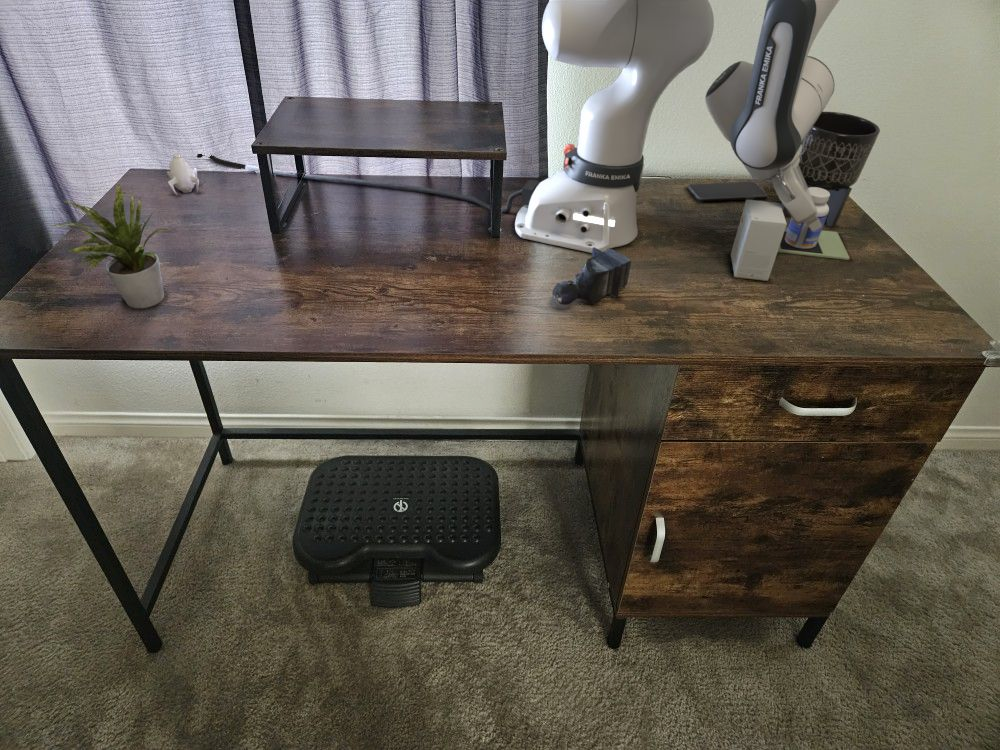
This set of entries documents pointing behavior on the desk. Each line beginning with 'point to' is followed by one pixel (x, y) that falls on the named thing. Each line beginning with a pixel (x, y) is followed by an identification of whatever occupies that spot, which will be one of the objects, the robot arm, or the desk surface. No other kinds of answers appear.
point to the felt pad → (819, 246)
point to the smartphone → (727, 191)
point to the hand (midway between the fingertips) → (812, 215)
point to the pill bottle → (801, 232)
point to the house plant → (124, 253)
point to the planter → (836, 156)
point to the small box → (757, 239)
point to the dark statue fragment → (595, 278)
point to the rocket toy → (182, 175)
